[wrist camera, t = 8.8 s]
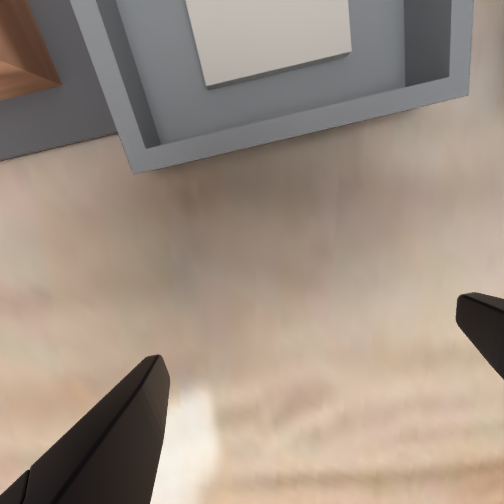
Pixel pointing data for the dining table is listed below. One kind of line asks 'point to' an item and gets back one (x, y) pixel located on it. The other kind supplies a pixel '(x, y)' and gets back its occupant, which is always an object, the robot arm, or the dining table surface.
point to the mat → (57, 92)
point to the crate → (266, 68)
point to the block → (23, 53)
